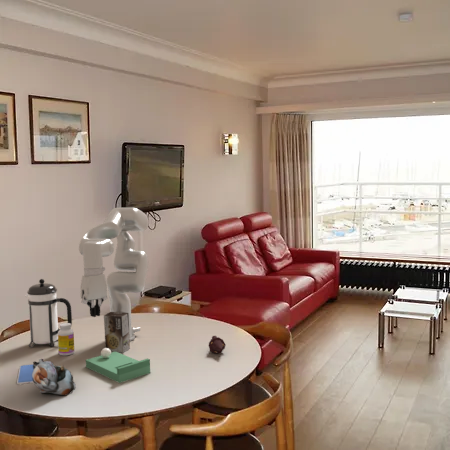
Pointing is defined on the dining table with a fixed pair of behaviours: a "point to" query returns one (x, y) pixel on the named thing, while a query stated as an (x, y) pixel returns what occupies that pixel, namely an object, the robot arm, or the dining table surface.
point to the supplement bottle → (65, 339)
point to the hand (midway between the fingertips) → (95, 315)
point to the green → (119, 366)
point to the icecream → (216, 345)
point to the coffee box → (117, 331)
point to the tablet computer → (25, 374)
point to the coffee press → (44, 313)
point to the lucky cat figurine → (52, 378)
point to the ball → (105, 353)
